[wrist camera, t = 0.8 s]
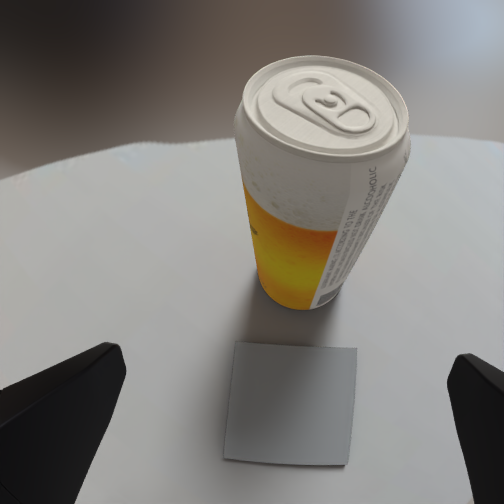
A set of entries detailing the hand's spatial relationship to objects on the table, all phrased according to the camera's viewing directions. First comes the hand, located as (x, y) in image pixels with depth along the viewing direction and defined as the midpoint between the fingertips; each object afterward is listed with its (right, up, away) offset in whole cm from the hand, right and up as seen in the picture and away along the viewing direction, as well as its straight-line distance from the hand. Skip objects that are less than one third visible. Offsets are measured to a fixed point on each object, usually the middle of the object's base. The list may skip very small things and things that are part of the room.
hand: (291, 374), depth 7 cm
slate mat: (+2, -7, +11) cm, 13 cm away
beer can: (+2, +2, +15) cm, 16 cm away
